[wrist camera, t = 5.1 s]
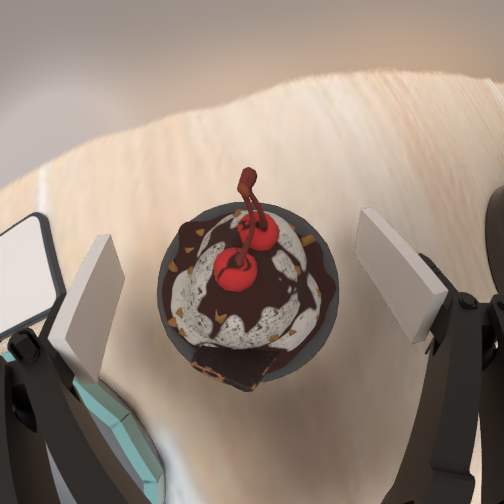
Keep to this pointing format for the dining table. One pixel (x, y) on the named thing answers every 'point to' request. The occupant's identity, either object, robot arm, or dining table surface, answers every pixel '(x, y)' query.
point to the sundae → (248, 291)
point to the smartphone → (27, 274)
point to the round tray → (117, 441)
